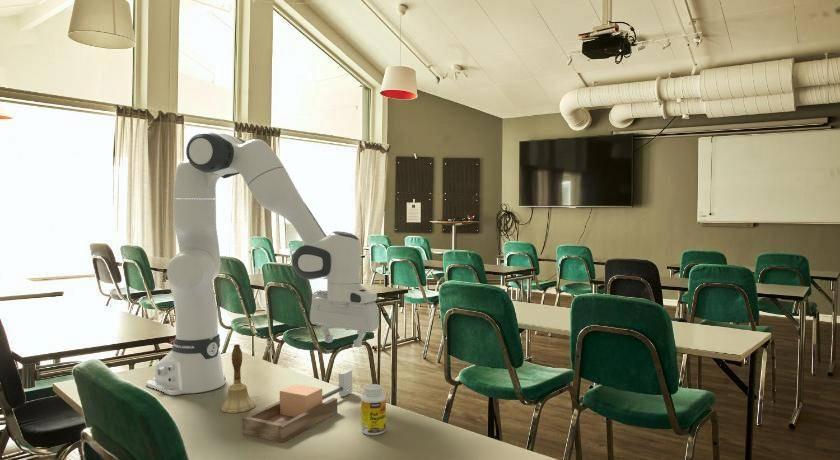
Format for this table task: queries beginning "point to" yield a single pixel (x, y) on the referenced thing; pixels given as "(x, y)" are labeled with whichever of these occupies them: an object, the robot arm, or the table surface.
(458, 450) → the table surface
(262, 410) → the shelf lane
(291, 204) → the robot arm
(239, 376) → the hand bell
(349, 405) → the table surface
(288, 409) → the pull block
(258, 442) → the table surface
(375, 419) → the supplement bottle
